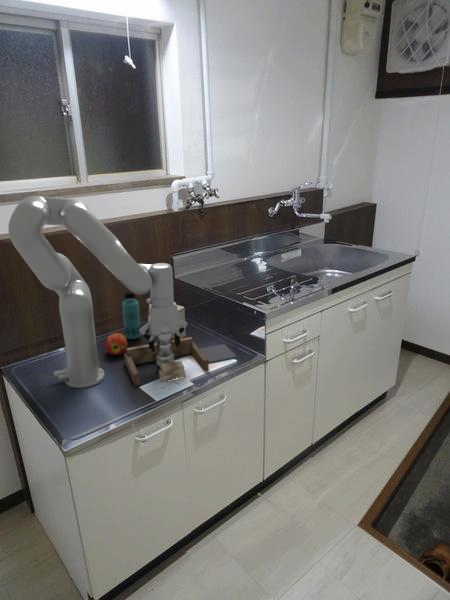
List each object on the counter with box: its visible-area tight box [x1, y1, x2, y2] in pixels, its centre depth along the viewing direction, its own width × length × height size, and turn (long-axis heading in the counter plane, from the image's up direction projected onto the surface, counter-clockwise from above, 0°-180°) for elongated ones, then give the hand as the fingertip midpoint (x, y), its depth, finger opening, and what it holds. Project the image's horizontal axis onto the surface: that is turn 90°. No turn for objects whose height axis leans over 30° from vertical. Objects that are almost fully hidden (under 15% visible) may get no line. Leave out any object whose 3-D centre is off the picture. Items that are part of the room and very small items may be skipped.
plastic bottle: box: [155, 327, 175, 368], centre depth 145 cm, size 6×7×20 cm
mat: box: [199, 343, 237, 364], centre depth 157 cm, size 11×11×1 cm
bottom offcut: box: [158, 369, 187, 383], centre depth 141 cm, size 8×4×2 cm, turn 113°
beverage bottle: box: [121, 290, 141, 340], centre depth 165 cm, size 6×7×20 cm
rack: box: [123, 336, 210, 386], centre depth 147 cm, size 26×16×6 cm, turn 113°
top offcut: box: [160, 360, 185, 376], centre depth 141 cm, size 7×4×2 cm, turn 109°
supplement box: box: [172, 304, 187, 340], centre depth 169 cm, size 8×5×13 cm, turn 58°
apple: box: [104, 332, 128, 356], centre depth 156 cm, size 8×8×8 cm
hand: (164, 347), depth 146 cm, fingers open, 8 cm apart
